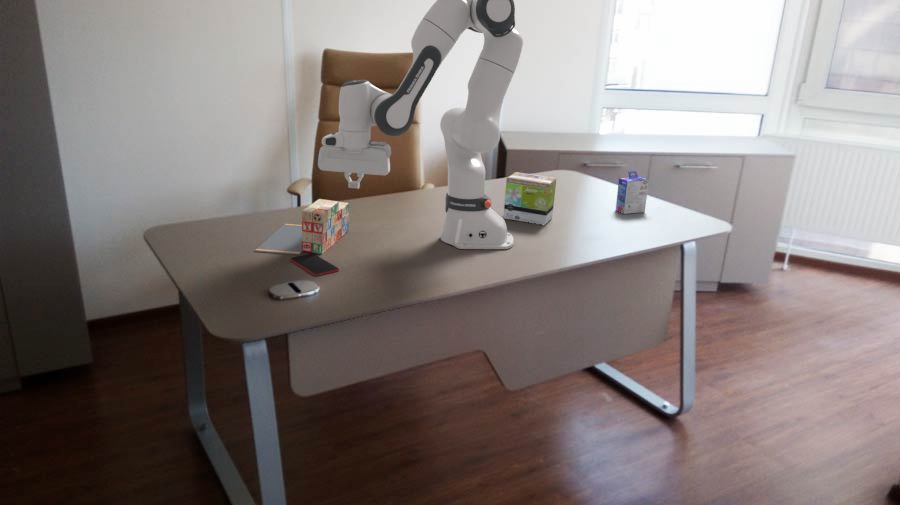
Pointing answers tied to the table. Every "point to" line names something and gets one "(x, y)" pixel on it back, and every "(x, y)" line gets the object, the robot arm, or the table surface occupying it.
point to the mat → (284, 241)
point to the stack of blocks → (323, 225)
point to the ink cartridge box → (632, 194)
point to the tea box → (529, 198)
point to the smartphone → (314, 264)
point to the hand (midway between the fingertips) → (354, 187)
